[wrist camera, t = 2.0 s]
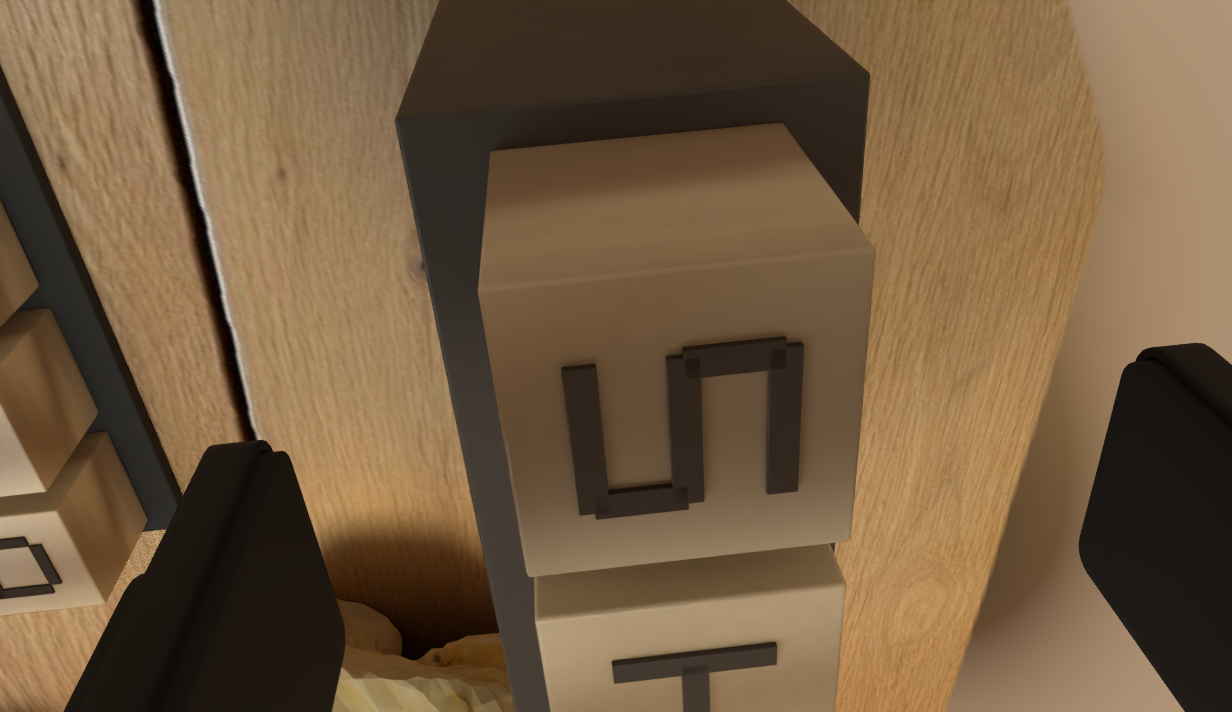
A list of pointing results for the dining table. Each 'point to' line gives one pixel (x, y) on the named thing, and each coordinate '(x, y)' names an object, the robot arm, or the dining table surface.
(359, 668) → the ammonite fossil
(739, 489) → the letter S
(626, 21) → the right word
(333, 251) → the dining table surface
